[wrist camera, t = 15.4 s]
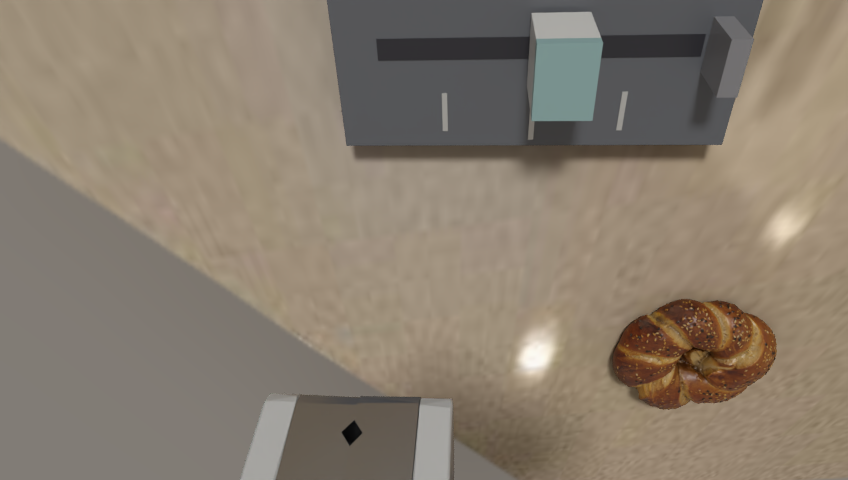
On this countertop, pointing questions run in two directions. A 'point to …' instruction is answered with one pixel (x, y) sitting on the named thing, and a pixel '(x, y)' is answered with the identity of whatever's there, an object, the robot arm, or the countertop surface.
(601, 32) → the console
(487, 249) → the countertop surface
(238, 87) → the countertop surface
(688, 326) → the pretzel
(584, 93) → the fader
